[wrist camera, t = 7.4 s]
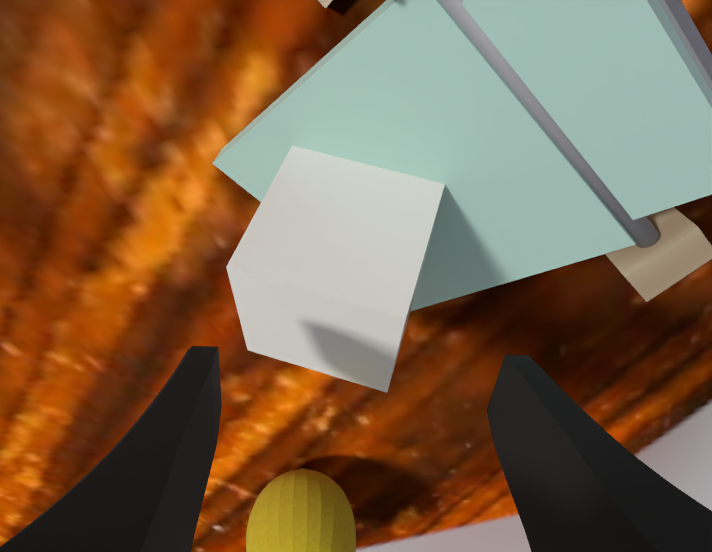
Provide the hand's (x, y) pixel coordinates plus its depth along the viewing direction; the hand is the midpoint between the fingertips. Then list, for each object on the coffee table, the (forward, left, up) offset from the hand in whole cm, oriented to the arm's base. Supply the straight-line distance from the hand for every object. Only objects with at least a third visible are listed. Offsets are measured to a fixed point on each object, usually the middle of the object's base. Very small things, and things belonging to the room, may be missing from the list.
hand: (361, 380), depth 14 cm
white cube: (0, -1, -7) cm, 7 cm away
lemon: (-10, +14, -10) cm, 20 cm away
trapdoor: (0, -5, -7) cm, 9 cm away
